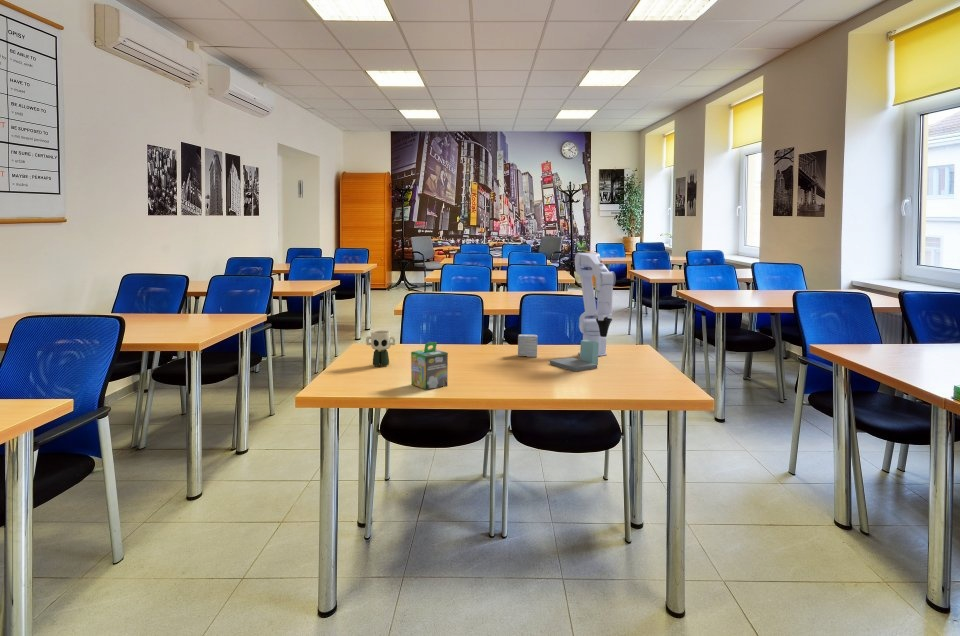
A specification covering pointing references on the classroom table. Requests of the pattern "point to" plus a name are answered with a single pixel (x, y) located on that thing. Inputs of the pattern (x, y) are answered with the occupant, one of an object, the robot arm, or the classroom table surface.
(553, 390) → the classroom table surface
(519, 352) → the medicine box
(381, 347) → the character mug
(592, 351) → the teal slab
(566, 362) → the rubber pad
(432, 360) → the chalk box
